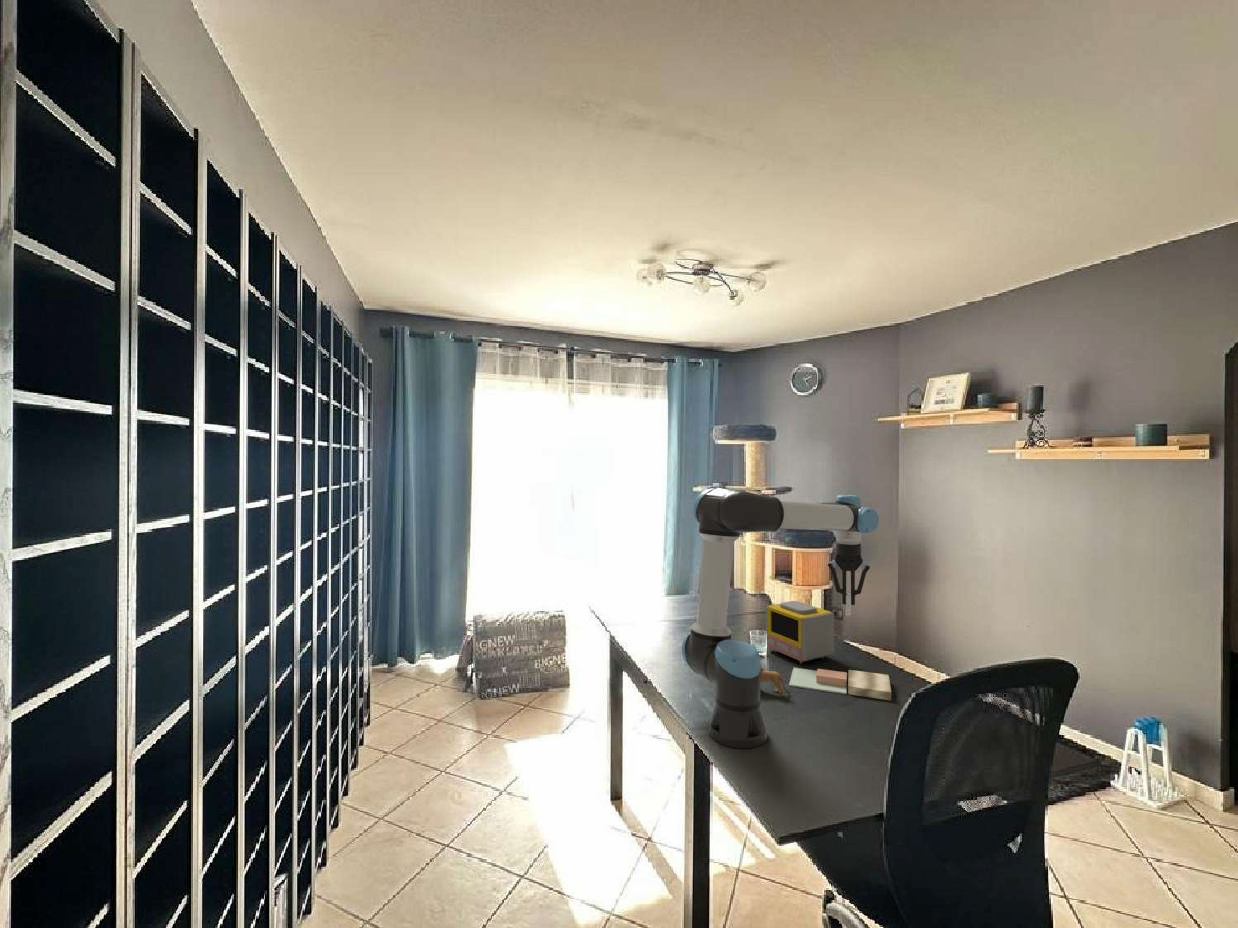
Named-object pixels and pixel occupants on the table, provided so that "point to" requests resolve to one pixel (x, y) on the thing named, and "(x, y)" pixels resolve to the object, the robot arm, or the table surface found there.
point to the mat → (812, 681)
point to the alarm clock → (800, 630)
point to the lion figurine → (773, 680)
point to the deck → (869, 684)
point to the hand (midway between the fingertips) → (848, 614)
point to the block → (831, 677)
